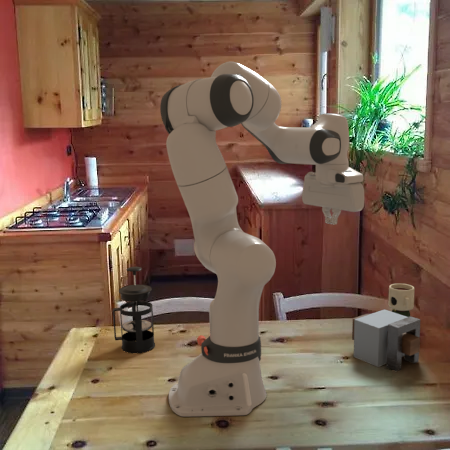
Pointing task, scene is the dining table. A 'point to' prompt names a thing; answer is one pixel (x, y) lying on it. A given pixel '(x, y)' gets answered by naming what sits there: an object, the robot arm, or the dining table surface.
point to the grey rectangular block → (373, 336)
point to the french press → (135, 318)
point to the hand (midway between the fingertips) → (331, 223)
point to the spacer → (395, 341)
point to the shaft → (408, 341)
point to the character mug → (401, 298)
